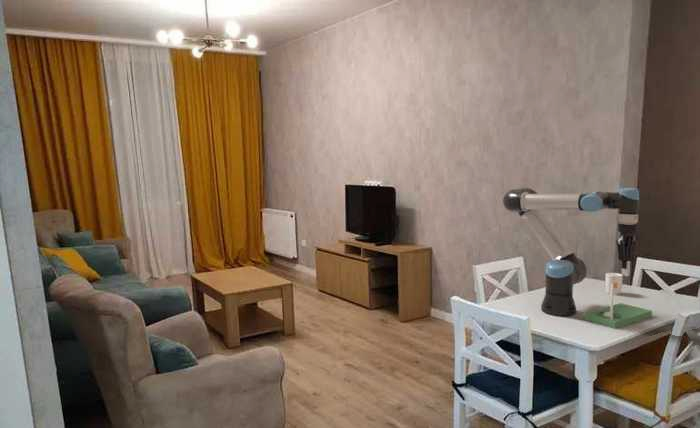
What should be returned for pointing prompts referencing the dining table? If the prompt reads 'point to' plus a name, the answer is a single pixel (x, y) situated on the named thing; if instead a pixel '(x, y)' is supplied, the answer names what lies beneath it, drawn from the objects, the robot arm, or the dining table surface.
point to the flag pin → (613, 285)
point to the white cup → (613, 279)
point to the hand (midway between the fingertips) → (625, 275)
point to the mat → (618, 315)
